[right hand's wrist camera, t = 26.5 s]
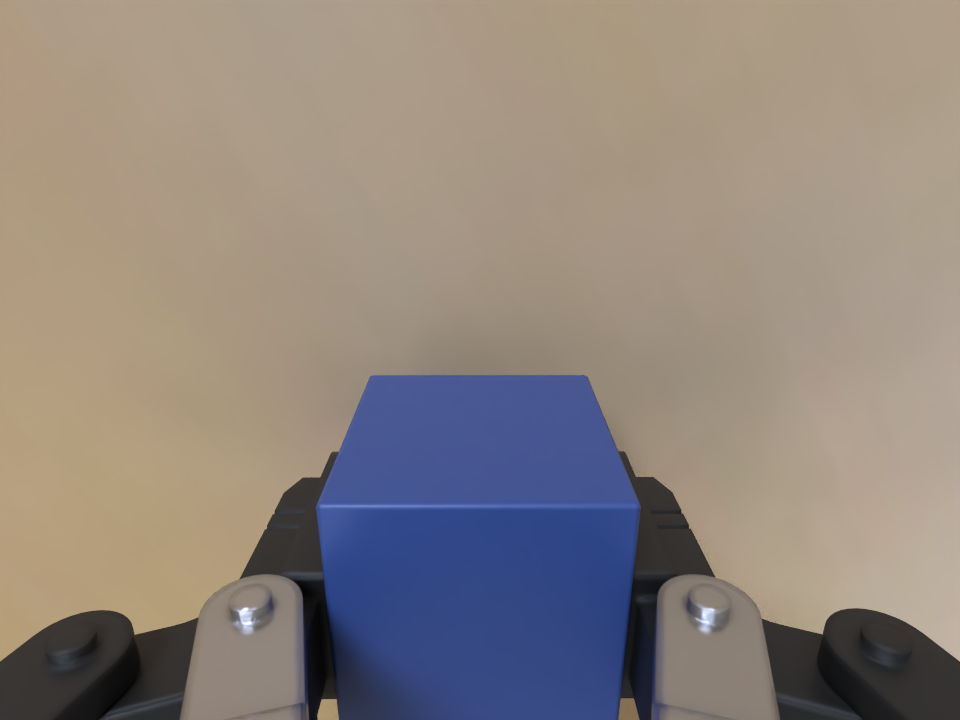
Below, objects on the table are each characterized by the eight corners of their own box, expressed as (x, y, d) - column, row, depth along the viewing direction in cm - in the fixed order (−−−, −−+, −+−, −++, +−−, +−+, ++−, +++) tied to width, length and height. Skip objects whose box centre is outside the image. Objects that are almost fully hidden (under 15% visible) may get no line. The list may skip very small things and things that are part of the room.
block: (369, 374, 12) (313, 504, 8) (588, 373, 12) (642, 505, 8) (384, 591, 14) (344, 787, 10) (573, 591, 14) (612, 787, 10)
